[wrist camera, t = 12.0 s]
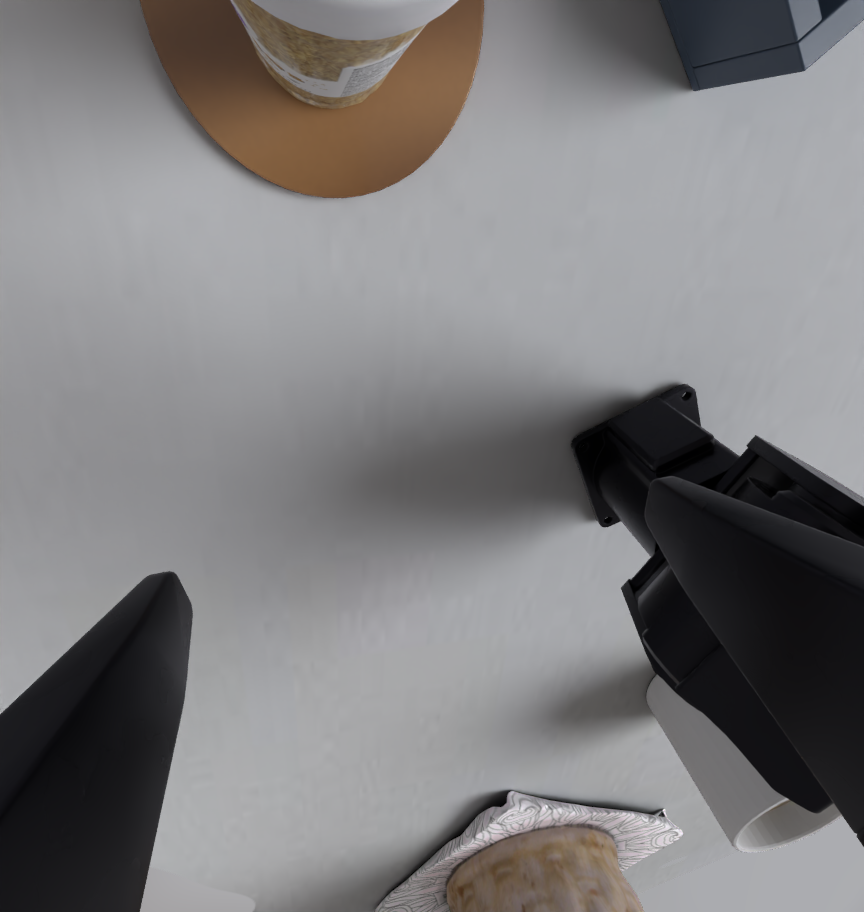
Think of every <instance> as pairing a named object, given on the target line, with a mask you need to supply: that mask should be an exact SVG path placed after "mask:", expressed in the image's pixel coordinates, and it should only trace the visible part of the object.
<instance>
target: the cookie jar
mask: <svg viewBox="0 0 864 912" xmlns="http://www.w3.org/2000/svg"><path fill="white" fill-rule="evenodd" d="M682 835H683V832H682V830H681V829H680V828H678V827H677V826H676V825H674V824H673V823H672V822H671V821H670V820H669V819H668V817H667V815H666V813H665V809H663V810H662V812H661V813H660V815H659V816H654V815H649V814H644V813H639V812H634V811H624V810H615V809H605V808H596V807H587V806H582V805H575V804H569V803H563V802H557V801H551V800H546V799H542V798H538V797H534V796H530V795H525V794H521V793H517V792H514V791H511V792H509V793H508V795H507V803H506V804H505V805H504V806H502V807H491V808H489V809H487V810H485V811H484V812H482V813H481V814H479V815H478V816H477V817H476V818H475V819H474V821H473V822H472V823H471V824H470V825H469V827H468V828H467V829H466V830H465V831H464V833H463V834H462V835H461V836H459V837H457V838H455V839H453V840H452V841H450V842H448V843H447V844H446V845H445V846H444V847H443V848H441V849H440V850H439V851H438V852H437V853H436V854H435V855H434V856H432V857H431V858H430V859H429V860H428V861H427V862H426V863H425V864H424V865H423V866H421V867H420V868H419V869H418V870H417V871H416V872H415V873H414V874H413V875H411V876H410V877H409V878H408V879H407V880H406V881H405V882H403V883H402V884H401V885H400V886H398V887H397V888H396V889H395V890H393V891H392V892H391V893H390V894H389V895H388V896H387V897H385V898H384V900H383V901H382V902H381V903H380V904H379V906H378V907H377V908H376V910H375V912H644V910H643V907H642V905H641V903H640V901H639V898H638V896H637V895H636V893H635V892H634V890H633V889H632V887H631V886H630V884H629V883H628V882H627V880H626V879H625V878H624V876H623V875H622V873H621V871H623V870H626V869H627V868H629V867H630V866H632V865H634V864H635V863H636V862H639V861H640V860H642V859H643V858H645V857H647V856H649V855H651V854H654V853H655V852H656V851H658V850H659V849H662V848H664V847H665V846H667V845H668V844H671V843H674V842H675V841H677V840H678V839H679V838H680V837H682Z"/></svg>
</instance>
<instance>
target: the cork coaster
mask: <svg viewBox="0 0 864 912" xmlns="http://www.w3.org/2000/svg"><path fill="white" fill-rule="evenodd" d="M140 3H141V8H142V11H143V14H144V18H145V21H146V24H147V27H148V30H149V33H150V37H151V39H152V42H153V44H154V47H155V49H156V51H157V54H158V56H159V58H160V61H161V63H162V65H163V67H164V69H165V71H166V73H167V75H168V77H169V78H170V80H171V82H172V84H173V86H174V88H175V89H176V91H177V93H178V94H179V96H180V97H181V99H182V100H183V102H184V103H185V105H186V106H187V108H188V109H189V111H190V112H191V114H192V115H193V116H194V118H195V119H196V120H197V121H198V122H199V124H200V125H201V126H202V127H203V128H204V130H205V131H206V132H207V133H208V134H209V135H210V137H212V138H213V139H214V140H215V141H216V142H217V143H218V144H219V145H220V146H221V147H222V148H223V149H224V150H225V151H226V152H227V153H228V154H229V155H231V156H232V157H233V158H234V159H236V160H237V161H238V162H240V163H241V164H242V165H243V166H245V167H246V168H247V169H249V170H251V171H252V172H254V173H256V174H257V175H259V176H261V177H262V178H264V179H266V180H268V181H270V182H272V183H274V184H276V185H279V186H281V187H283V188H285V189H288V190H292V191H295V192H298V193H302V194H305V195H311V196H317V197H323V198H347V197H355V196H362V195H366V194H369V193H373V192H376V191H380V190H382V189H384V188H386V187H389V186H391V185H393V184H395V183H397V182H399V181H400V180H402V179H403V178H405V177H407V176H408V175H410V174H411V173H413V172H414V171H415V170H416V169H417V168H419V167H420V166H421V165H422V164H423V163H424V162H426V161H427V160H428V159H429V158H430V156H431V155H432V154H433V153H434V152H435V151H436V150H437V149H438V147H439V146H440V145H441V144H442V143H443V141H444V140H445V138H446V137H447V135H448V134H449V132H450V131H451V129H452V128H453V126H454V124H455V122H456V120H457V119H458V117H459V115H460V113H461V111H462V109H463V107H464V104H465V102H466V99H467V97H468V94H469V91H470V89H471V86H472V83H473V79H474V75H475V72H476V68H477V64H478V60H479V54H480V48H481V41H482V35H483V19H484V0H459V1H457V2H456V3H455V4H454V5H453V6H451V7H450V8H449V9H448V10H447V11H445V12H444V13H443V14H442V15H440V16H438V17H437V18H435V19H433V20H432V21H430V22H428V23H427V25H426V26H425V27H424V28H423V29H422V31H421V32H420V33H419V34H418V35H417V37H416V38H415V39H414V40H413V41H412V43H411V44H410V45H409V47H408V48H407V49H406V50H405V52H404V53H403V54H402V56H401V57H400V58H399V59H398V61H397V62H396V63H395V65H394V66H393V67H392V69H391V70H390V71H389V73H388V75H387V77H386V78H385V80H384V81H383V83H382V84H381V85H380V86H379V88H378V89H377V90H376V91H375V92H373V93H372V94H370V95H369V96H368V97H367V98H366V99H365V100H364V101H363V102H361V103H359V104H356V105H351V106H348V107H344V108H340V109H329V108H319V107H316V106H313V105H310V104H307V103H304V102H302V101H300V100H298V99H297V98H295V97H294V96H293V95H291V94H290V93H289V92H288V91H286V90H285V89H284V88H283V87H282V86H281V85H280V84H279V83H278V82H277V81H276V80H275V79H274V78H273V77H272V75H271V74H270V73H269V72H268V71H267V69H266V68H265V66H264V65H263V63H262V61H261V60H260V58H259V56H258V55H257V53H256V50H255V48H254V46H253V42H252V40H251V38H250V36H249V34H248V32H247V31H246V29H245V27H244V25H243V23H242V21H241V19H240V18H239V16H238V14H237V12H236V10H235V8H234V7H233V5H232V3H231V1H230V0H140Z"/></svg>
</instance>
